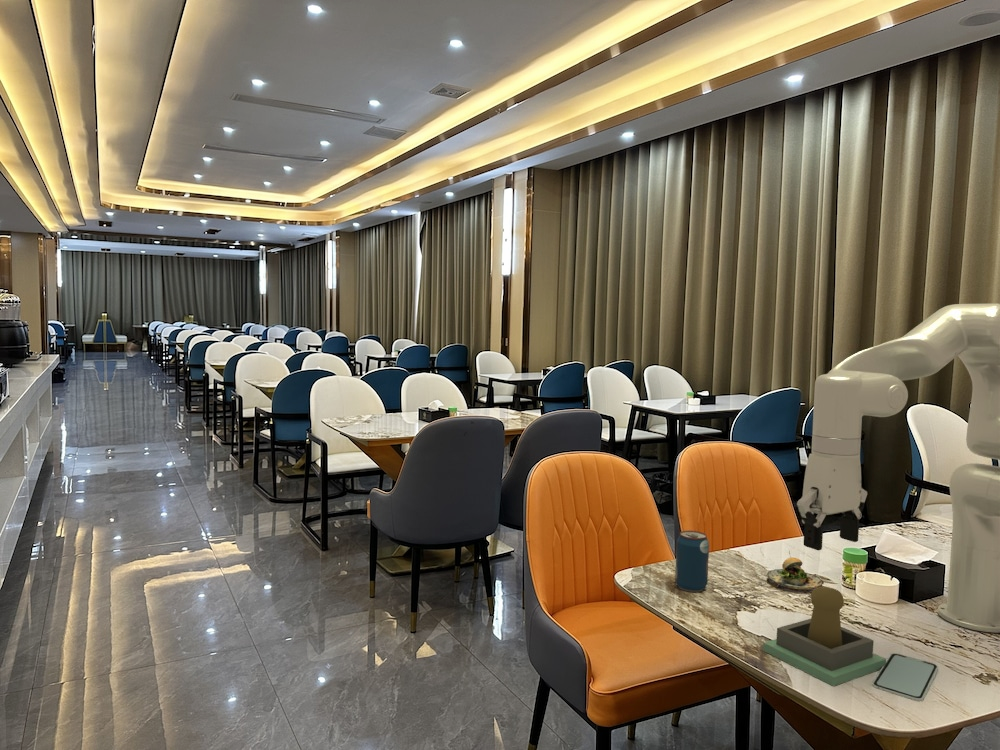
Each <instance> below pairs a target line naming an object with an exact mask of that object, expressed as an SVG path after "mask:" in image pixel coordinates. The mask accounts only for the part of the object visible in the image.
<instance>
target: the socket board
mask: <svg viewBox="0 0 1000 750" xmlns="http://www.w3.org/2000/svg"><path fill="white" fill-rule="evenodd" d="M810 622H811V618H808V619H805V620H801V621H798V622H794V623H789V624H786V625H783V626H780V627H777V629H776V638H775V639H771V640H768V641H765V642H763V647H762V648H763V649H762V651H763V652H764V653H766V654H769V655H770V656H773V657H775V658H777V659H778V660H780V661H782V662H785V663H786V664H788V665H790V666H793V667H795V668H797V669H798V670H800V671H803V672H805V673H807V674H808V675H810V676H813V677H814V678H816V679H818V680H820V681H822V682H824V683H826V684H828V685H830V686H832V687H835V686H838V685H841V684H843V683H847V682H850V681H852V680H854V679H858V678H860V677H864V676H866V675H869V674H871V673H872V674H873V673H875V672H877V671H880V670H881V668H882V667H883V666H885V665H886V660H887V659H886V658H885V657H882V656H880V655H878V654H875V653H874V641H875V640H874V639H872V638H870V637H867V636H864V635H862V634H859V633H857V632H855V631H853V630H849V629H848V628H845V627H843V626H841V635H842V646H839V647H836V648H833V649H830V648H827V647H825V646H823V645H821V644H819V643H816V642H814V641H812V640H810V639H808V638H807V637H808V632H809V627H810Z"/></svg>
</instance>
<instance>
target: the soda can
mask: <svg viewBox="0 0 1000 750" xmlns="http://www.w3.org/2000/svg"><path fill="white" fill-rule="evenodd" d="M709 556H710V542H709V540H708V536H707V534H706V533H705V532H701V531H698V530H682V531H680V532H679V535H678V537H677V539H676V549H675V570H674V571H675V575H674V577H675V578H674V580H675V583H676V585H677V587H678V588H679V589H680V590H683V591H686V592H690V593H698V592H702V591H704V590H705V589H706V588H707V585H708V582H709V581H708V579H709V577H708V576H709Z"/></svg>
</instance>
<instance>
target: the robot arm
mask: <svg viewBox="0 0 1000 750" xmlns="http://www.w3.org/2000/svg"><path fill="white" fill-rule="evenodd" d="M957 357H958V358H959V359H960V360H961V362H962V363H963V365H964V366H965V368H966V370H967V372H968V373H969V376H970V379H971V385H972V393H971V401H970V407H969V408H970V409H969V414H968V421H967V427H966V429H967V430H966V439H965V440H966V446H967V448H968V449H969V451H970V452H971V453H972V454H973V455H977V456H980V457H983V458H987V459H992V460H999V461H1000V303H959V304H958V303H957V304H956V303H955V304H949V305H946V306H945V305H944V307H941V308H940V309H938V310H937V311H935V312H934V313H932V314H931V315H929V316H928V317H927V318H925V319H924V320H923V321H922V322H921V323H919V324H917V326H915V327H913V328H912V329H911V330H910V331H908V332H907V333H906V334H905V335H903V336H902V337H898V338H895V339H892V340H889V341H885V342H883V343H881V344H878V345H875V346H872V347H869V348H866V349H862V350H860V351H858V352H856V353H854V354H852V355H850V356H848V357H847V358H845V359H844V360H842V361H841V362H839V363H837V365H836V366H834V367H833V368H831V370H829V371H828V372H827V373H825V374H821V375H819V376H817V377H816V379H815V381H814V389H813V391H814V394H813V395H814V396H813V397H814V398H813V412H812V413H813V415H812V416H813V417H812V418H813V419H812V435H811V437H812V438H811V453H809V456H808V459H807V462H806V467H805V471H804V479H803V488H802V496H801V498H800V499H798V501H796V506H797V509H798V512H799V517H800V518H801V522H802V524H803V525H804V529H803V545H804V547H806V548H809V549H812V550H814V551H822V550H823V539H824V538H823V537H824V535H823V534H824V533H823V532H824V526H821V525H822V523H823V521H824V520H825V518H826V516H829V515H835V514H840V513H841V514H843V515H840V520H839V521H840V522H839V523H840V524H839V525H840V526H839V538H841V539H843V540H846V541H849V542H852V543H857V542H858V541H859V529H860V527H859V526H860V519H861V518H862V512H863V510H864V508H865V502H866V499H867V496H868V491H867V490H865V489H864V488H863V487H862V466H861V442H862V440H861V439H862V424H863V423H862V421H863V420H862V419H863V417H864V416H869V417H871V416H872V417H877V418H887V417H891V416H895V415H896V414H898V413H900V412H901V411H902V410H903V409H904V408H905V407H906V405H907V403H908V398H909V391H908V389H907V386H906V385H905V383H904V381H910V380H916V379H920V378H921V379H923V378H925V377H929V376H933V375H934V374H936V373H938V372H939V371H940V370H941V369H943V368H944V367H946V365H948V364H949V363H950V362H951V361H953V360H954V359H955V358H957ZM949 479H950V480H949V494H950V500H951V506H952V507H951V508H952V529H951V531H952V532H951V542H950V544H951V545H950V558H949V559H950V561H949V572H948V587H947V588H948V589H947V601H946V602H944V603H941V604H939V605H938V607H937V614H938V616H940V617H941V618H942V619H943V620H944V621H947V622H949V623H952V624H953V625H956V626H959V627H962V628H965V629H969V630H973V631H977V632H984V633H993V634H994V633H995V634H996V633H998V634H999V633H1000V466H997V465H991V464H986V463H966V464H962V465H960V466H958V467H957V468H955V469H954V471H953V472H952V473H951V475H950V478H949ZM814 514H817V515H816V516H815V515H814Z"/></svg>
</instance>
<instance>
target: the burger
mask: <svg viewBox="0 0 1000 750" xmlns="http://www.w3.org/2000/svg"><path fill="white" fill-rule="evenodd" d="M788 553H789V555H791V553H790V550H788ZM802 566H803V561H802V560H801V559H799V558H797V557H791V556H789V557H788V558H786V559H785V560H784V562H783V563H782V564H781V567H782V568H779V569H778V568H777V569H772V570H770V571H768V572H767V574H766V576H767V578H766V582H767V584H768V585H770V587H771V586H772V587H773V588H774V589H778V586H782V587H783V588H784V587H786V588H789V589H793V590H805V591H806V590H812V589H813V590H814V589H815V588H817V587H823V585H824V584H825V582H824V580H823V579H821V578H820V577H819V576H817V575H816V574H812V573H809V572H805V570H804V569H803V568H802Z"/></svg>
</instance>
